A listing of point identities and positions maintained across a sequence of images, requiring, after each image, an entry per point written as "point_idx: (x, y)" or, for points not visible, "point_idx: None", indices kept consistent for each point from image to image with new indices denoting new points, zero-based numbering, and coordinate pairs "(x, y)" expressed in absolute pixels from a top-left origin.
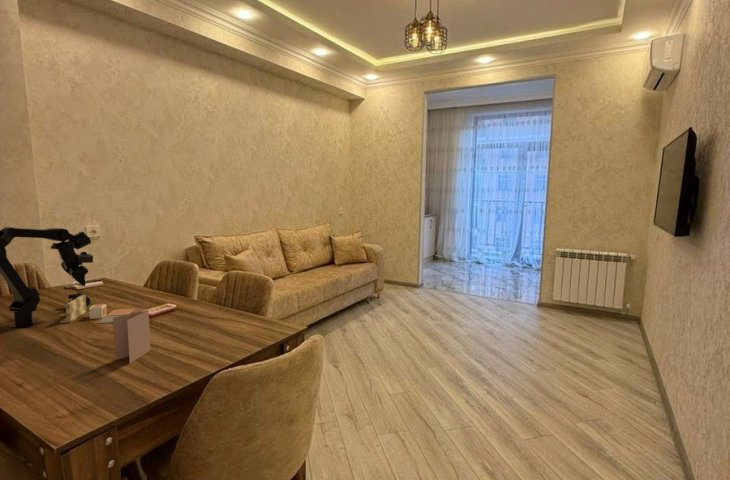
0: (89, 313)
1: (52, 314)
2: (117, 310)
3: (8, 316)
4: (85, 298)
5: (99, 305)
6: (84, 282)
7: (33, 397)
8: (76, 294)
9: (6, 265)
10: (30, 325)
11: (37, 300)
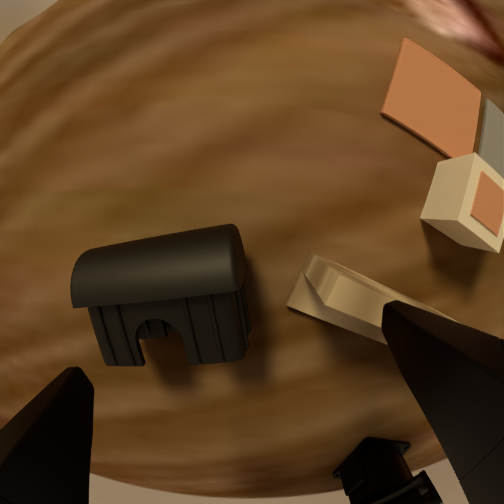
0: (478, 248)
1: (262, 403)
2: (405, 102)
3: (197, 493)
4: (335, 269)
5: (490, 193)
6: (444, 327)
7: None
8: (119, 322)
9: None
10: (405, 443)
11: (439, 496)
